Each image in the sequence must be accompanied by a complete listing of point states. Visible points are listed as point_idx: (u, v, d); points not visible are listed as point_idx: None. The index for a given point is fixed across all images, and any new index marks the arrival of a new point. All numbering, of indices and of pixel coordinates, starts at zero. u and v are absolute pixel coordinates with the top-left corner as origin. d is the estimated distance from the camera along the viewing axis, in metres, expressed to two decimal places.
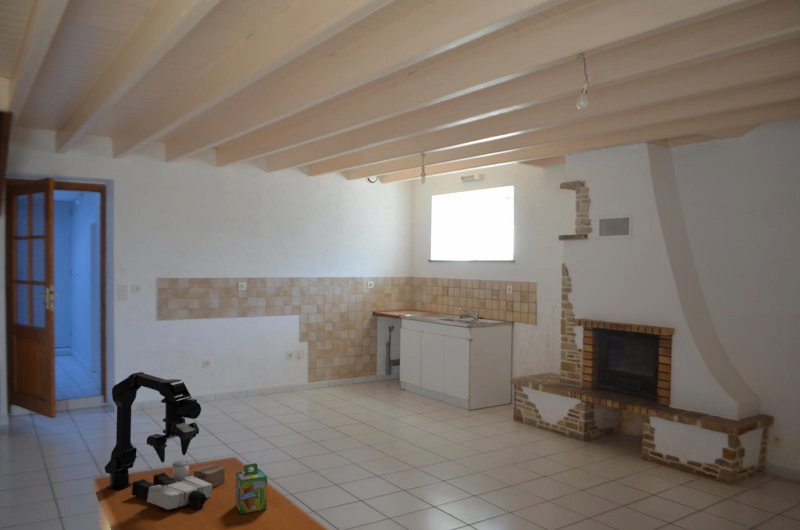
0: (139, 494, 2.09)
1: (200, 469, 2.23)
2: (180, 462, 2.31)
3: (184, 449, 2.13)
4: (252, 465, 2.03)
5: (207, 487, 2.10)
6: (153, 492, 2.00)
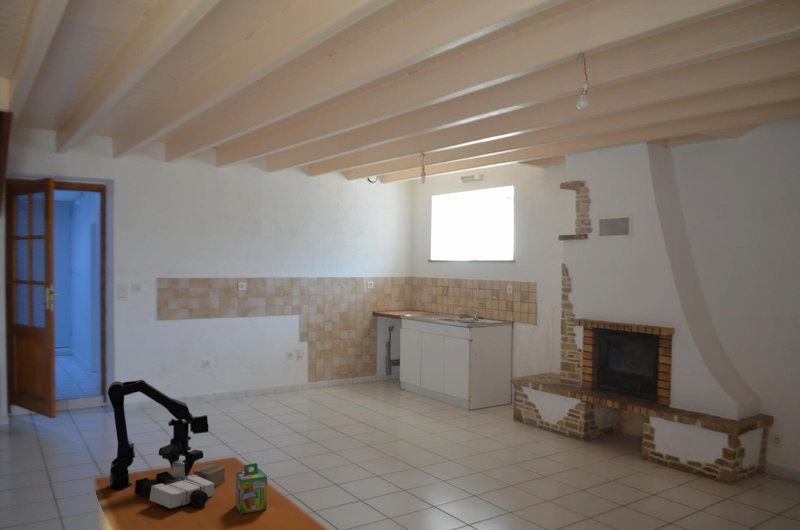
0: (142, 493, 2.10)
1: (200, 469, 2.23)
2: (180, 462, 2.31)
3: None
4: (252, 465, 2.03)
5: (209, 486, 2.10)
6: (155, 491, 2.01)
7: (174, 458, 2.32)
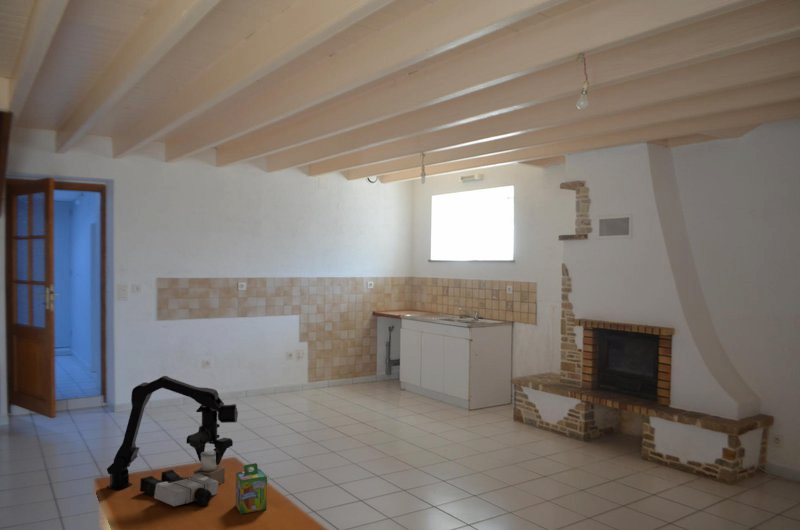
0: (147, 490, 2.12)
1: (200, 469, 2.23)
2: (208, 452, 2.25)
3: None
4: (252, 465, 2.03)
5: (213, 485, 2.12)
6: (160, 489, 2.03)
7: (200, 446, 2.26)
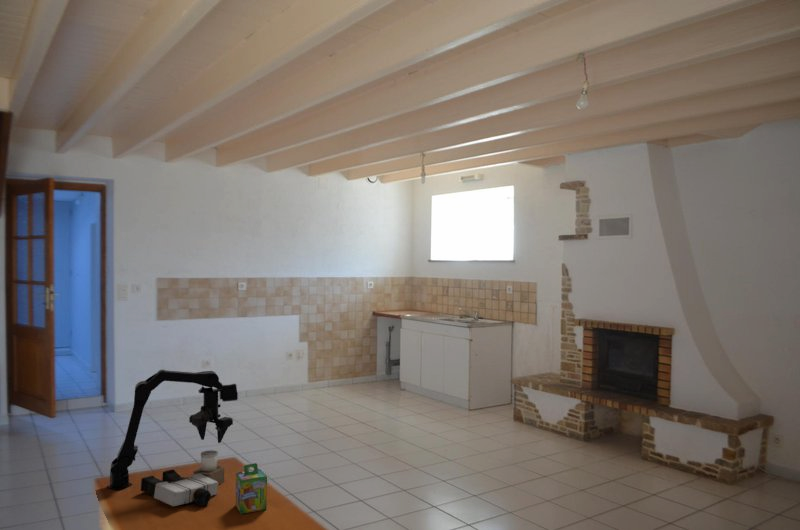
0: (147, 490, 2.13)
1: (200, 469, 2.23)
2: (208, 452, 2.24)
3: None
4: (252, 465, 2.03)
5: (213, 485, 2.12)
6: (159, 489, 2.03)
7: (202, 425, 2.37)
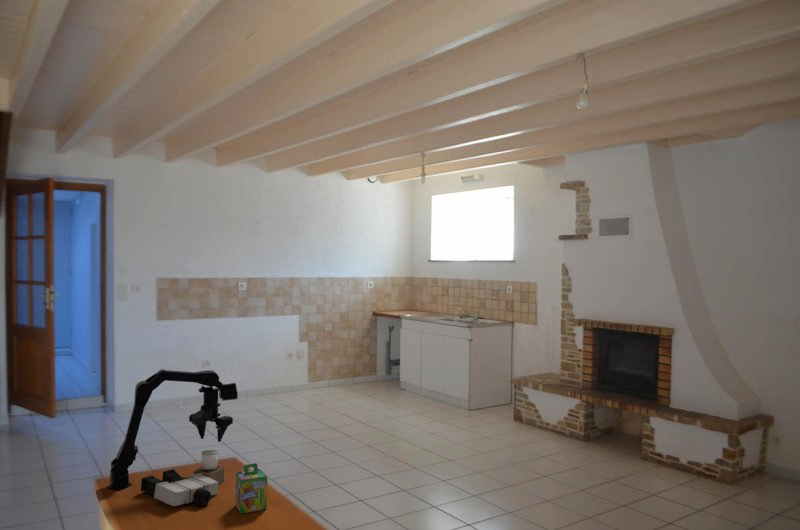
0: (147, 490, 2.13)
1: (200, 469, 2.23)
2: (210, 451, 2.25)
3: None
4: (252, 465, 2.03)
5: (213, 485, 2.12)
6: (159, 489, 2.03)
7: (201, 424, 2.39)
